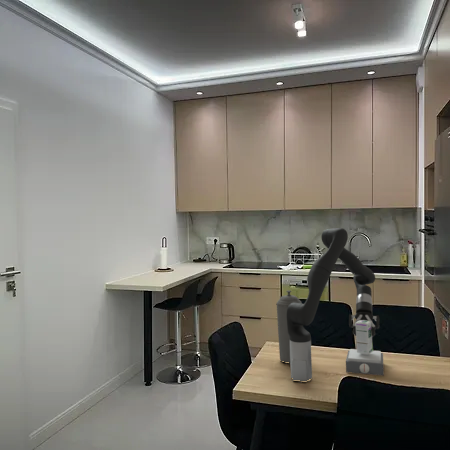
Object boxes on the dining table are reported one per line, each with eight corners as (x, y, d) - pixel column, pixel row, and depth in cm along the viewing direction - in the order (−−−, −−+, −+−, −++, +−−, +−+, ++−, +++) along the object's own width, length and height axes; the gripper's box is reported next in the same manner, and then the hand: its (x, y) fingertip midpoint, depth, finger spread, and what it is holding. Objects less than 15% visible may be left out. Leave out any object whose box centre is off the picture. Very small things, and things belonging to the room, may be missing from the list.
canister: (273, 359, 212) (271, 290, 212) (294, 355, 217) (292, 287, 217) (287, 367, 200) (284, 293, 200) (309, 362, 206) (306, 291, 205)
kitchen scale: (383, 376, 185) (383, 362, 185) (345, 372, 190) (345, 359, 190) (383, 363, 201) (382, 350, 201) (348, 360, 206) (348, 348, 206)
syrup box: (369, 355, 192) (368, 323, 192) (356, 353, 195) (355, 321, 195) (373, 351, 197) (372, 320, 196) (360, 349, 200) (359, 319, 200)
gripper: (348, 300, 205) (347, 330, 194) (379, 301, 200) (380, 332, 189) (349, 308, 210) (348, 338, 199) (379, 310, 205) (380, 340, 194)
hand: (363, 335), depth 194 cm, fingers open, 7 cm apart
